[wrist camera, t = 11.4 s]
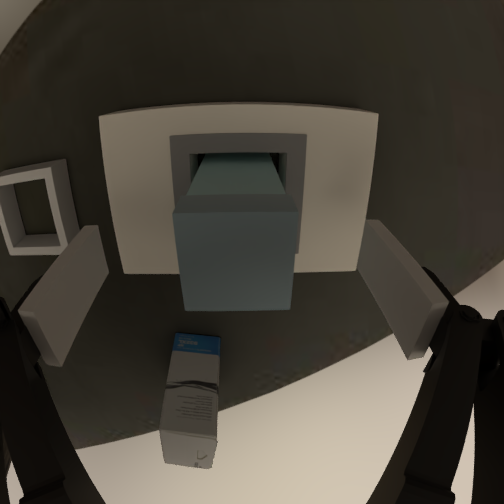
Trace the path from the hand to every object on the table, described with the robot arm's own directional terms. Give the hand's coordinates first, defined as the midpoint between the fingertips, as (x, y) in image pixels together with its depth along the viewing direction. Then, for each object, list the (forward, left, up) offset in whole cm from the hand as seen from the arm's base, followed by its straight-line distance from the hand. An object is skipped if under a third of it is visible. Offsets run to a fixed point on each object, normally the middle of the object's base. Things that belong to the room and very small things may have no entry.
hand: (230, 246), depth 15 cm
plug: (0, 0, -10) cm, 10 cm away
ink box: (-5, -20, -10) cm, 23 cm away
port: (0, 0, -10) cm, 10 cm away
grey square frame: (-18, -1, -10) cm, 20 cm away
